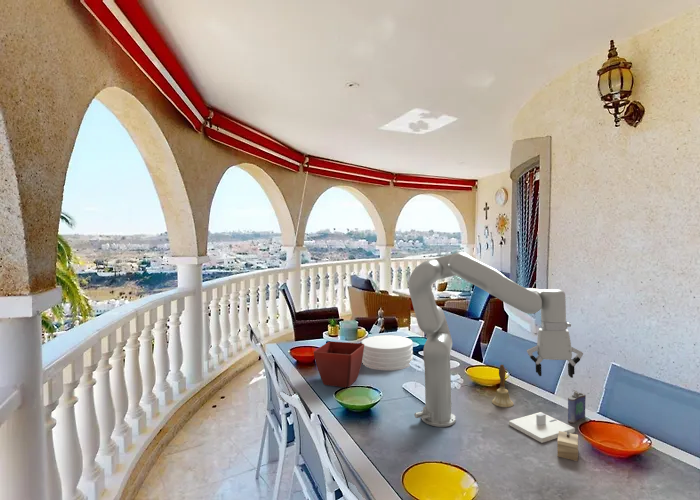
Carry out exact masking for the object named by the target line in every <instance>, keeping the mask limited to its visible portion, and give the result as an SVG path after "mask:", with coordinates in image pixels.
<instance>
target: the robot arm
mask: <svg viewBox="0 0 700 500" xmlns="http://www.w3.org/2000/svg"><path fill="white" fill-rule="evenodd" d="M455 276H456V277H458V278H460V279H463V280H464V281H466V282H468V283H470V284H471V285H473V286H475V287H477V288H479V289H481V290H483V291H484V292H486V293H487V294H489V295H491V296H493V297H495V298H497V299H499V300H500V301H501V302H503V303H505V304H507V305H510V306H511V307H513V308H515V309H517V310H518V311H520V312H523V313H524V314H528V315H529V314H530V315H533V314H536V313H538V312H540V315H541V316H540V317H541V318H540V320H541V323H540V324H541V327H539V328H538V332H537V341H536V342H537V343H536V345H535V346H533V347H531V348H528V349H526V352H527V354H528V356H529V358H530V359H531V361H532V362H534V363H535V374H537V375H538V377H542V373H543V372H542V362H543V361H544V360H549V361H567V362H568V364H567V374H568V376H569V377H570V378H574V375H575V366H576V365H577V364H578V363H579V362H580V361H581V359H582V357H583V355H584V352H583V351H581V350H579V349H578V348H575V347H572V342H571V336H570V332H569V329H568V328H570V327H571V326H572V323H571V322H567V310H566V304H567V303H566V300H567V299H566V293H565V291H564V290H562V289H557V288H556V289H555V288H548V289H539V288H531V287H524V286H523V285H520V284H518V283H517V282H515V281H513V280H511V279H510V278H508V277H506V276H505V275H504V274H503V273H502V272H500V271H499V270H497V269H496V268H494V267H492V266H490V265H488V264H486V263H483V262H482V261H479V260H478V259H476V258H474V257H473V256H471V255H470V254H468V252H467V253H466V252H464V251H458V252H454V253H452V254H451V253H450V254H448V255H444V256H440V257H436V258H431V259H429V260H424V261H423V262H421V263H420V264H419V265H418V266H416V267H415V268H414V269H413V271H412V272H411V274H410V275H409V279H408V284H407V285H408V291H409V296H410V299H411V303H412V307H413V311H414V314H415V318H416V322H417V323H416V324H417V325H418V327H419V329H420V331H422V332H423V333H424V334H425V336H426V341H425V343H424V346H423V353H422V355H423V363H424V365H423V366H424V389H425V390H424V394H425V396H424V397H425V399H424V400H425V401H424V402H425V404H424V406H423V407H422V410H421V411H418V412H414V414H413V415H414V417H415V419H419V418H421V420H422V422H424V423H425V424H427V425H429V426H432V427H437V428H445V427H449V426H453V425H454V424H455V423H456V421H457V419H456V418H457V416H456V415H455V414H454V413H452V377H451V375H452V373H451V351H452V348H453V339H452V335H451V331H450V328H449V324H448V321H447V317H446V314H445V312H444V310H443V309H442V308H441V307H440V306H438V305H437V303H436V298H435V295H434V293H433V290H432V285H433V284H434V283H436V282H437V281H439V280H442V279H447V278H451V277H455ZM535 352H536V353H537V356H535V355H534V354H533V353H535ZM573 353H574V354H576V356H574V357H573ZM572 357H573V358H572Z"/></svg>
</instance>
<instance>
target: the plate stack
mask: <svg viewBox="0 0 700 500" xmlns="http://www.w3.org/2000/svg"><path fill="white" fill-rule="evenodd" d="M361 344H364V352H363V358H362V363H363V364H362V363H361V364H362V365H363V366H364V365H365V367H366V368H368V367H369V368H368V369H372V370H376V371H378V370H379V371H399V370H403V369H407V368H409V367H411V366H410V364H409V363H410V361H412V359H413V360H414V355H413V354H414V351H413V348H414V346H413V345H414V344H413V340H412V339H411V338H408V337H405V336H400V335H393V334H392V335H389V334H386V335H385V334H384V335H374V336H369V337H366V338H364V339H362V340H361Z"/></svg>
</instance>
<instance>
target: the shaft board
mask: <svg viewBox="0 0 700 500" xmlns="http://www.w3.org/2000/svg"><path fill="white" fill-rule="evenodd" d="M508 426H510V427H512V428H514V429H515V430H518V431H519V432H521V433H523V434H525V435H527V436H528V437H530V438H532V439H534V440H536V442H537V441H538V442H539V443H541V444H543V443H546V442H549V441H551V440H552V441H553V440H555V439H558V433H559V431H562V432H567V431H568V432H570V433H572V434H575V432H576V428H575V427H574V426H571V425H570V424H569V423H565V422H563V421H562V420H558V419H557V418H555V417H552V416H550V415H548V414H546V413H544V412H542V411H540V412H536V413H535V412H534V413H533V414H527V415H526V416H521V417H517V418H514V419H511V420H508Z"/></svg>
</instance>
